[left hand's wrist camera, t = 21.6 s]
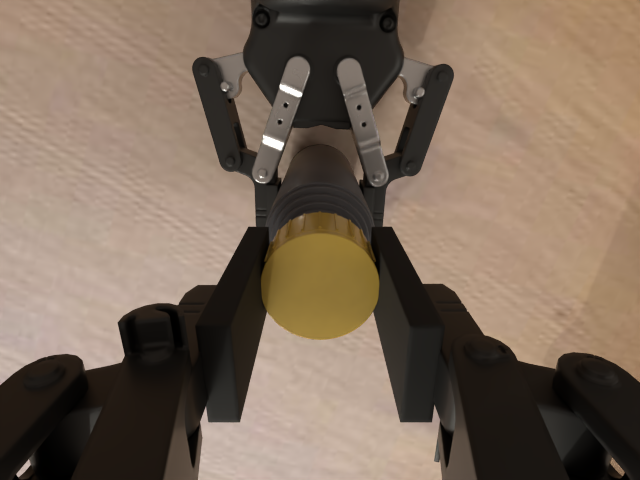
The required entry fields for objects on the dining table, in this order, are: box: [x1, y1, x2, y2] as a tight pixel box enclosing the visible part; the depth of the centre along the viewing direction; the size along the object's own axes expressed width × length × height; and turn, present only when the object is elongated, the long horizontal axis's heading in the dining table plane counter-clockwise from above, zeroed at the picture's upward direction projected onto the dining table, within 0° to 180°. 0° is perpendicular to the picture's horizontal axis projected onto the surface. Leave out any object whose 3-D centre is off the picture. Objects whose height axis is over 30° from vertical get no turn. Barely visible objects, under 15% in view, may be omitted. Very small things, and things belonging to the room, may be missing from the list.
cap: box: [261, 211, 379, 340], centre depth 13 cm, size 4×4×2 cm
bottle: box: [265, 145, 375, 244], centre depth 21 cm, size 5×5×17 cm
